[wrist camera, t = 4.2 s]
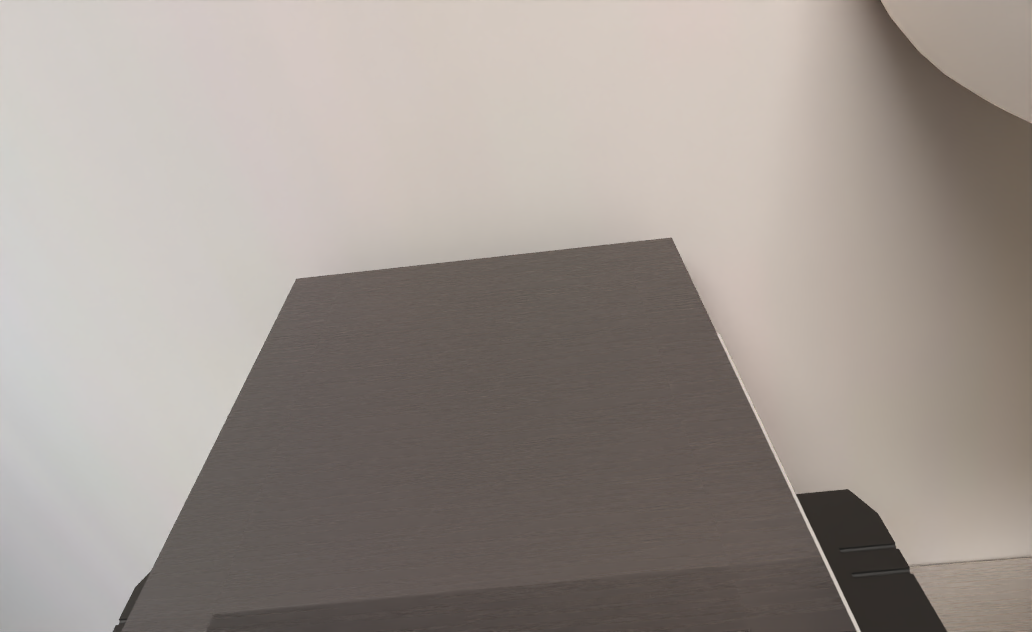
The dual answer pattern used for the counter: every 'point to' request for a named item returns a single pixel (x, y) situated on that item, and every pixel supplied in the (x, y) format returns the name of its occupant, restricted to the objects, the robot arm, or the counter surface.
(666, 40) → the counter surface
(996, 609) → the ratchet
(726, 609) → the socket
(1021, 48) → the mug
